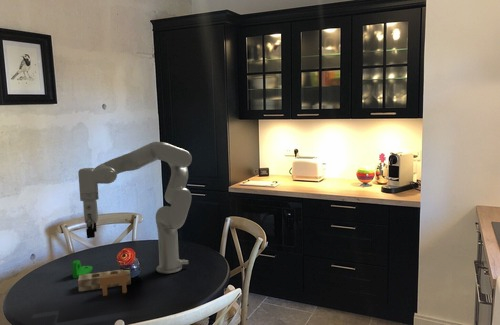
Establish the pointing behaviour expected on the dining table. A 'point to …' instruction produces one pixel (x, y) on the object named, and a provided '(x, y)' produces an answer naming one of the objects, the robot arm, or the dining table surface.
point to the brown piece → (114, 281)
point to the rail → (98, 280)
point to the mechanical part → (80, 269)
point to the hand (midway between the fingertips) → (91, 234)
